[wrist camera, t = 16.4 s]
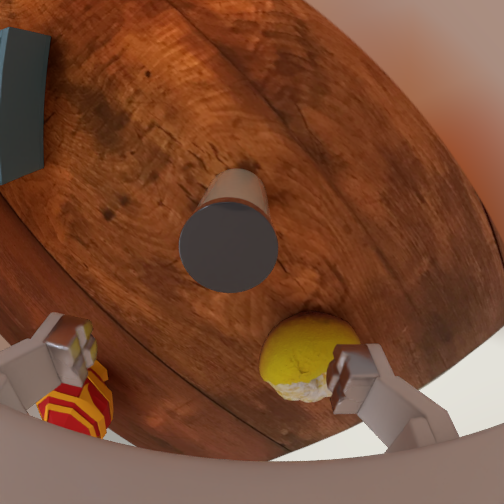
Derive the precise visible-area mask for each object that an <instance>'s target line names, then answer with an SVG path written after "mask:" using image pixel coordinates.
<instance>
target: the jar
mask: <svg viewBox="0 0 504 504" xmlns="http://www.w3.org/2000/svg"><path fill="white" fill-rule="evenodd" d="M179 253H180V258H181V261H182V263H183V265H184V267H185V269H186V270H187V272H188V273H189V274H190V276H191V277H192V278H193V279H194V280H195V281H197V282H198V283H199V284H201V285H203V286H204V287H206V288H208V289H211V290H214V291H217V292H223V293H237V292H242V291H246V290H249V289H251V288H253V287H255V286H257V285H258V284H260V283H261V282H263V281H264V280H265V279H266V278H267V277H268V275H269V274H270V273H271V271H272V270H273V268H274V266H275V264H276V261H277V257H278V240H277V235H276V231H275V228H274V225H273V223H272V221H271V216H270V211H269V205H268V199H267V194H266V189H265V187H264V185H263V183H262V181H261V180H260V179H259V178H258V177H257V176H256V175H255V174H253V173H252V172H250V171H247V170H244V169H229V170H226V171H223V172H221V173H220V174H218V175H217V176H216V177H215V178H214V179H213V180H212V182H211V183H210V185H209V187H208V188H207V190H206V192H205V194H204V196H203V197H202V199H201V201H200V203H199V205H198V206H197V208H196V210H195V211H193V213H192V214H191V215H190V216H189V218H188V220H187V221H186V223H185V225H184V227H183V229H182V231H181V234H180V238H179Z"/></svg>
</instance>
